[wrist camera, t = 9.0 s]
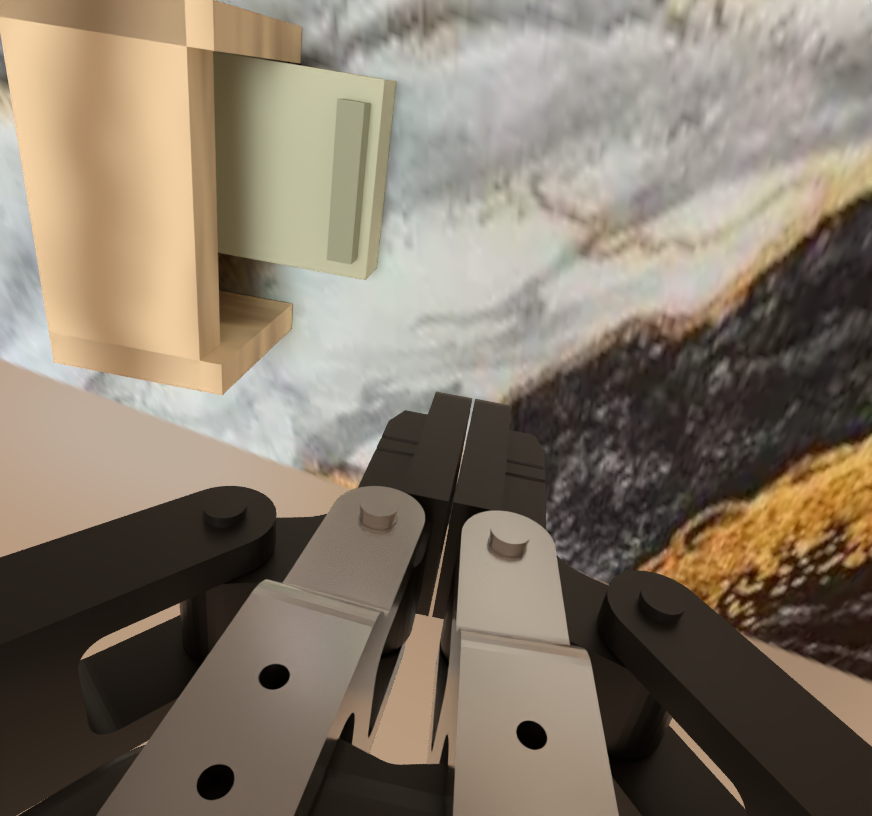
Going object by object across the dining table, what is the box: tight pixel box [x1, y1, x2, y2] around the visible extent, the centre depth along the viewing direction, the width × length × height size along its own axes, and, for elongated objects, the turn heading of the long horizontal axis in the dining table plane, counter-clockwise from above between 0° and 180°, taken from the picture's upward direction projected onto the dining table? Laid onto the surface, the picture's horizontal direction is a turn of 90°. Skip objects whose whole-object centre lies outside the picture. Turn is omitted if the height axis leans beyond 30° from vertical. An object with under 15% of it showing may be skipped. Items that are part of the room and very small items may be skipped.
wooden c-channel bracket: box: [0, 0, 302, 395], centre depth 28 cm, size 8×15×9 cm, turn 172°
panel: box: [213, 51, 396, 280], centre depth 30 cm, size 11×9×4 cm
